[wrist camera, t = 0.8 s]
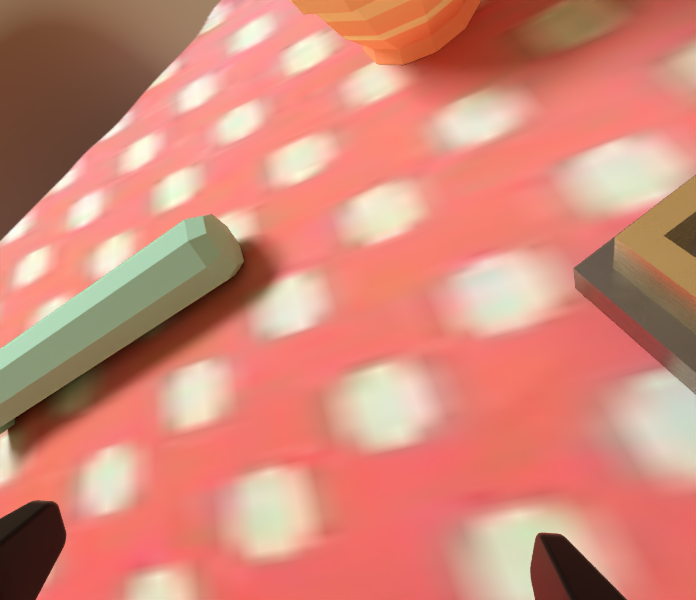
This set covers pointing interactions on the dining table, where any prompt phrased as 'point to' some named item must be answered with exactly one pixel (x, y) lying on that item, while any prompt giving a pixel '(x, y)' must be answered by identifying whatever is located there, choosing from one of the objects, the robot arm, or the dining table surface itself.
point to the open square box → (652, 281)
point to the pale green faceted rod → (116, 311)
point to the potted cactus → (394, 24)
